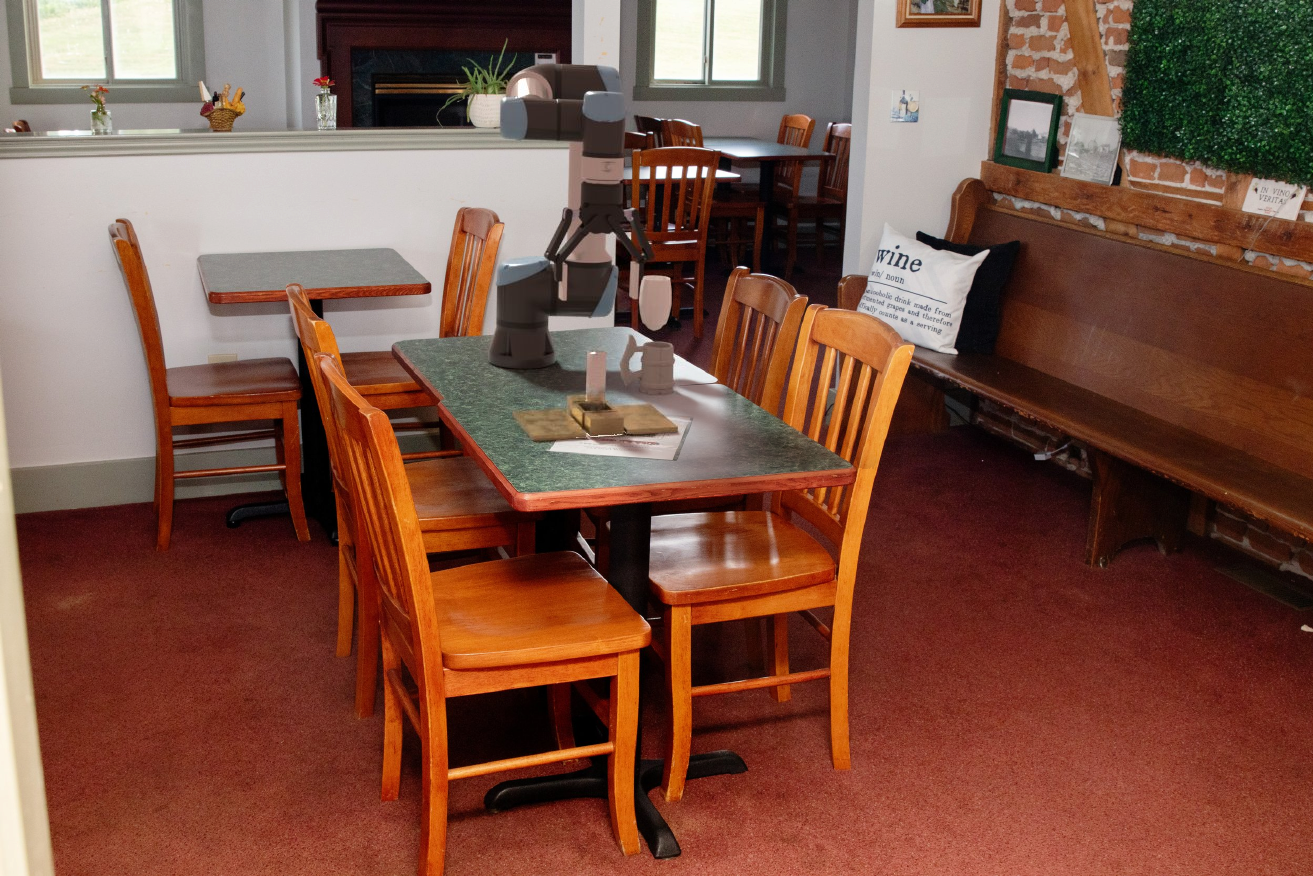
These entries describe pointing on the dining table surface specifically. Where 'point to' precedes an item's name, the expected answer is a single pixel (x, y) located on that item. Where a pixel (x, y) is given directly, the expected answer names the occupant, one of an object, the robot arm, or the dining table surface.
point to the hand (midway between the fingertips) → (598, 298)
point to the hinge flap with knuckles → (635, 417)
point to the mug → (650, 366)
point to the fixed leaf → (570, 422)
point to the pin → (595, 380)
